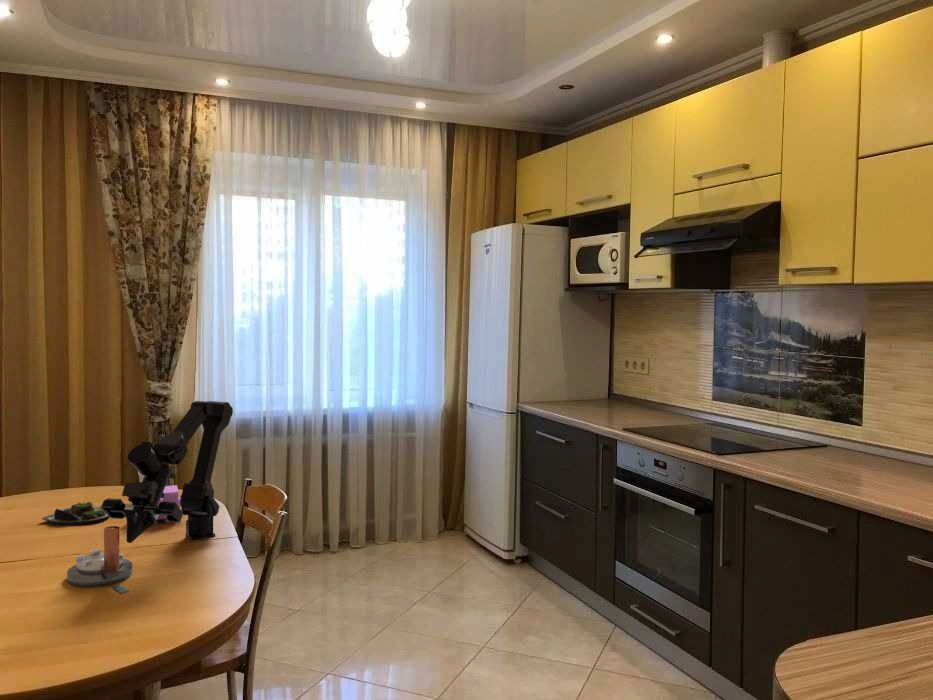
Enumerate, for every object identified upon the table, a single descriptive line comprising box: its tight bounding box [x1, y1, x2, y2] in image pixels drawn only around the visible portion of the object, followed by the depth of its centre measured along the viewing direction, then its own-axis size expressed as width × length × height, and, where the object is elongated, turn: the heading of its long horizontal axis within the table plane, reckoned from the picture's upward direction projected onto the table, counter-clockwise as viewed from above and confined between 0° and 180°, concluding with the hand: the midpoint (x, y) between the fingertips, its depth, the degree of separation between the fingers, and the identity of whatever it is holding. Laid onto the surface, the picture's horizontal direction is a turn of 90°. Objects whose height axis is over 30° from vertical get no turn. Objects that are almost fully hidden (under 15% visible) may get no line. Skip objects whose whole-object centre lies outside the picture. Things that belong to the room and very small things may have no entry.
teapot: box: [157, 484, 181, 523], centre depth 217 cm, size 15×13×11 cm
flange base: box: [66, 558, 133, 594], centre depth 169 cm, size 14×21×2 cm, turn 39°
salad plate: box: [41, 501, 110, 526], centre depth 218 cm, size 19×18×5 cm
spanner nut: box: [75, 525, 125, 578], centre depth 169 cm, size 16×10×12 cm, turn 42°
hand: (128, 542), depth 170 cm, fingers closed
